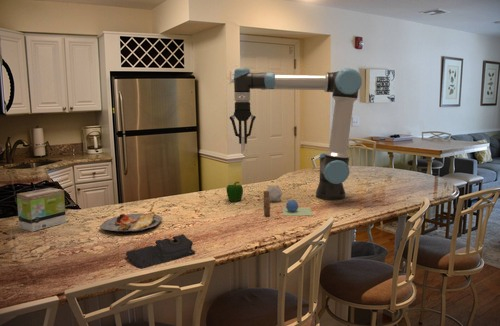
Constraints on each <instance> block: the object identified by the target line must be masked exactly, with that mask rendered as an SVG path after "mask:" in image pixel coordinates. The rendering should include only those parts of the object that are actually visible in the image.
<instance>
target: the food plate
mask: <svg viewBox="0 0 500 326" xmlns="http://www.w3.org/2000/svg"><path fill="white" fill-rule="evenodd" d="M162 220H163V217H162V216H160V215H158V214H156V213H155V212H154V211H153V212H149V213H148V212H147V213H141V212H140V213H129V214H125V213H121V214H119V215H118V216H115V217H112V218H108V219H106V220H105V221H104V222H103V223H101V224H100V226H99V228H100V229H101V230H104V231H105V230H107V231H113V232H120V233H125V232H127V233H130V232H139V231H140V232H142V231H144V230H147V229H148V228H153V227H155V226H157V225H159V223H161V222H162Z"/></svg>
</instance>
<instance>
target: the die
mask: <svg viewBox="0 0 500 326" xmlns="http://www.w3.org/2000/svg"><path fill="white" fill-rule="evenodd" d="M266 191H269V198H270V203H271V202H272V203H275V202H276V203H277V202H280V200H281V197H282V194H283V191H282V189H281V188H280V186H279V185H278V184H277V185H268V187H267V189H266Z"/></svg>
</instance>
